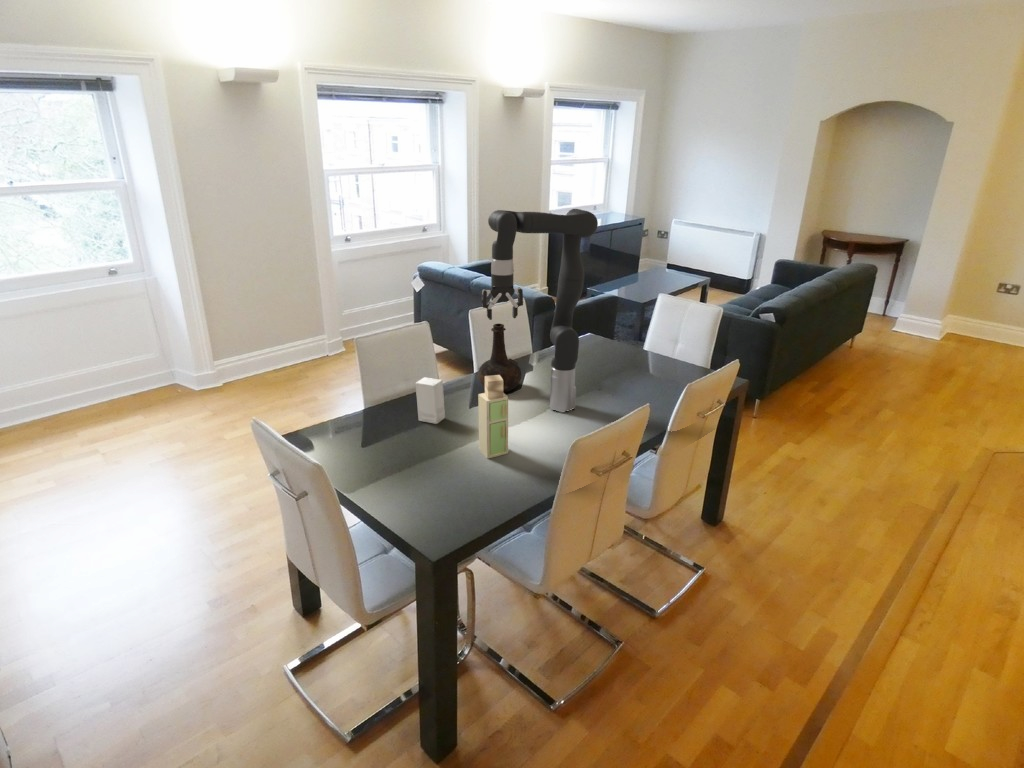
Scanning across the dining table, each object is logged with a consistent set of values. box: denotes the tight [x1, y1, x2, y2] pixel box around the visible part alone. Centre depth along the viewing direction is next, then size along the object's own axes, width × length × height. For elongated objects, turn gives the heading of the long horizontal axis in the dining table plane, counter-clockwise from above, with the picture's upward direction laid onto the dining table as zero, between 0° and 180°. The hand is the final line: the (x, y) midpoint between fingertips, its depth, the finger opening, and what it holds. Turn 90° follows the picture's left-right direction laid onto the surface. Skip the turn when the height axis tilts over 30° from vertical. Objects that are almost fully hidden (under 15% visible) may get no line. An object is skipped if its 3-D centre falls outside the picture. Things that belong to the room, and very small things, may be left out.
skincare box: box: [415, 376, 446, 425], centre depth 230 cm, size 8×7×16 cm
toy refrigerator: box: [477, 392, 509, 459], centre depth 205 cm, size 8×7×21 cm
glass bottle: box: [477, 323, 522, 393], centre depth 257 cm, size 18×18×28 cm
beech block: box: [484, 375, 504, 399], centre depth 200 cm, size 5×5×6 cm
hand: (502, 318), depth 216 cm, fingers open, 8 cm apart
